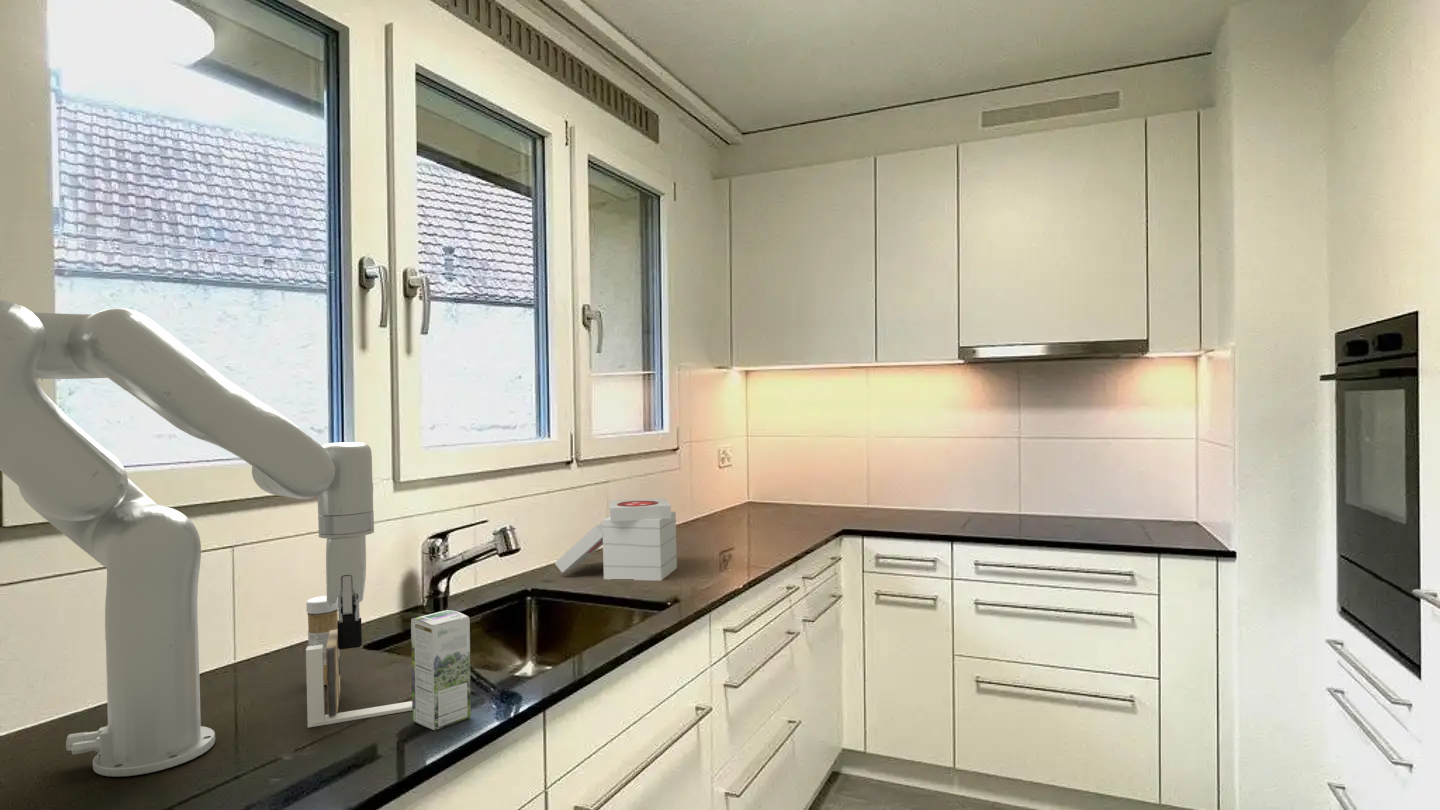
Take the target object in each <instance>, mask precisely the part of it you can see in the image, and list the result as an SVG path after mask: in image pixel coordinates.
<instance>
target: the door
mask: <svg viewBox="0 0 1440 810" xmlns="http://www.w3.org/2000/svg"><path fill="white" fill-rule="evenodd" d="M339 654H340V649H338V629H337V630H330V632H329V637H328V642H327V647H326V662H327V685H326V688H327V689H326V696H327V697H326V698H327V699H326V700H327V715H329V716H334V715H336V713H339V712H338V710H339V701H340V694H341V677H340V676H341V675H342V673H341V672H342V669H341V668H342V667H341V665H342V662H341V658H342V657H341V656H339Z"/></svg>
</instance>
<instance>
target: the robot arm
mask: <svg viewBox="0 0 1440 810" xmlns="http://www.w3.org/2000/svg"><path fill="white" fill-rule="evenodd" d="M41 379H42V380H46V379H48V380H50V379H51V380H52V379H53V380H54V379H55V380H76V379H77V380H78V379H79V380H81V379H82V380H83V379H85V380H86V379H109V380H111V381H112V382H113V383H114V384H116V385H117V386H119V387H120V388H121V389H123V390H124V391H126V392H128V393H129V394H130V395H132V396H133V397H135V398H136V399H137V400H138V401H140V402H141V403H143V404H144V405H145V406H147V407H148V408H149V409H151V410H152V411H153V412H155V413H157V414H158V416H160V417H162V418H163V419H165V421H167V422H168V423H170V424H171V425H173V426H174V427H175V428H176V429H178V430H180V431H181V432H182V431H183V432H184V433H186V434H188V435H189V436H192V437H194V438H196V439H198V440H201V441H203V442H207V443H210V444H213V445H215V446H217V447H219V448H222V449H224V450H225V451H228V452H230V453H231V454H232V455H235V456H236V457H237V458H240V460H243V461H244V462H246V464H247V463H248V464H249V465H250V466H251V475H252V479H253V481H254V482H255V485H257V486H258V487H259V488H260V489H261V490H262V491H264V492H266V493H268V494H271V495H274V496H279V497H285V498H293V499H298V500H308V499H313V498H315V497H317V522H318V538H321V539H326V545H325V547H326V548H325V573H326V574H325V575H326V576H325V579H326V583H325V584H326V596H327V605H328V606H332V604H333V603H336V600H337V598H338V612H337V614H338V622H337V629H338V649H339V651H340V650H347V649H355V648H360V647H362V645H363V635H362V634H363V633H362V631H363V630H362V627H363V626H362V617H360V603H361V602H362V601H363V600H364V596H365V587H366V576H367V574H366V573H367V572H366V571H367V547H366V546H367V545H366V544H367V543H366V542H367V540H366V536H367V535H371V534H373V533H375V519H374V517H375V516H374V515H375V514H374V491H373V490H374V488H373V487H374V486H373V453H372V452H373V451H372V448H371V447H370V446H369V444H367V443H366V442H361V441H349V442H348V441H345V442H343V441H342V442H330V443H325V444H322V445H321V444H320V443H319V442H317V441H316V440H315V439H313V438H312V436H310V435H309V434H307V432H305V431H304V430H303V429H301V428H300V427H299V426H297V425H296V424H295V423H294V422H292V421H291V420H289V419H288V418H287V417H285V416H284V415H282V414H281V413H279V412H278V411H277V410H275V409H274V408H272V407H271V406H268V405H267V404H265V403H264V402H262V401H261V400H259V399H257V398H256V397H254V396H253V395H252V394H250V393H249V392H247V391H246V390H244V389H242V388H241V387H239V386H238V385H236V384H235V383H233V382H232V381H230V380H229V379H228V378H226V377H224V376H223V375H222V374H221V373H220V372H218V370H216V369H214V368H213V367H212V366H211V365H210V364H208V363H207V362H205V361H204V360H203V359H202V358H200V357H199V356H198V355H196V353H194V352H193V351H192V350H191V349H189V348H188V347H186V346H185V345H184V344H183V343H181V341H179V340H178V339H177V338H175V337H174V336H173V335H172V334H171V333H169V332H168V331H166V330H165V329H164V328H163V327H161V326H160V325H159V324H158V323H156V322H155V321H154V320H152V319H151V318H149V317H148V316H146V315H145V314H143V313H141V312H139V311H136V310H134V309H130V308H124V307H113V308H108V309H107V308H106V309H104V310H103V309H102V310H101V311H98V312H95V313H57V312H54V313H53V312H37V311H31V310H29V309H28V308H26V307H25V306H23V305H20V304H18V303H16V302H12V301H8V300H3V299H0V471H1V473H3V474H4V475H5V476H6V477H7V478H9V480H11V481H12V482H14V483H15V484H16V486H18V489H19V492H20V493H19V494H20V495H21V497H22V498H23V500H24V502H25V503H26V504H27V505H28V506H29V507H31V508H32V510H34V511H35V512H36V513H38V515H40V516H41V517H42V518H43V519H45V520H46V522H48V523H49V524H51V525H52V526H53V527H54V528H56V530H58V531H59V532H61V533H62V534H63V535H64V536H65V537H67V538H68V539H69V541H72V542H73V543H74V544H75V545H76V546H78V547H79V548H80V549H82V550H83V551H84V552H85V553H86V554H87V555H88V556H90V557H92V558H93V559H94V560H95V561H96V562H97V563H99V564H100V565H101V566H103V567H105V568H106V588H105V589H106V590H105V602H104V603H105V604H104V606H105V607H104V608H105V609H104V627H105V628H104V631H105V633H104V636H105V638H104V639H105V654H106V655H105V658H106V659H105V660H106V663H105V664H106V694H107V695H106V697H107V701H106V702H107V725H105V726H101V727H100V728H99V729H98V730H95V731H84V732H77V733H76V732H75V733H69V734H68V735H67V737H66V742H65V749H66V751H71V755H74V756H75V755H78V754H86V753H88V752H89V753H90V752H93V751H94V752H95V753H97V754H96V755H95V756H94V757H93V759H92V770H93V772H94V773H96V774H98V775H100V776H105V777H115V778H116V777H117V778H118V777H119V778H120V777H132V776H133V777H134V776H139V775H145V774H146V775H147V774H150V773H155V772H160V771H162V770H167V769H170V768H174V767H176V766H180V765H182V764H184V763H187V762H189V761H192V760H194V759H196V758H197V757H199V756H201V755H204V754H205V753H207V752H208V751H209V750H211V748H212V747H213V746H214V745H215V742H216V732H215V730H214V729H212V728H210V727H207V726H204V725H203V726H202V725H201V723H202V722H201V718H202V717H201V686H200V654H199V653H200V650H199V649H200V648H199V647H200V646H199V623H198V621H199V620H198V619H199V617H198V616H199V615H198V611H199V610H198V591H199V589H198V587H199V577H200V567H201V559H202V558H201V557H202V544H201V538H200V534H199V532H198V529H197V528H196V526H195V524H194V522H192V520H191V519H190V518H189V517H188V516H187V515H186V514H184V513H182V512H181V511H179V510H177V509H175V508H172V507H169V506H165V505H161V504H158V503H156V502H155V501H154V500H153V499H152V498H151V497H150V496H148V495H147V494H146V493H145V492H144V491H142V489H141V488H140V487H138V486H137V484H135V483H134V482H133V481H132V480H131V479H130V478H128V474H127V470H126V468H125V467H124V465H123V463H122V462H121V460H119V458H118V457H116V455H114V454H113V453H112V452H111V451H109V450H108V449H106V448H105V447H104V446H102V445H101V444H100V443H98V442H97V441H96V440H95V439H94V438H93V437H92V436H91V435H89V434H88V433H87V432H86V431H84V429H82V427H80V426H79V425H78V424H76V423H75V421H73V419H71V418H70V417H69V416H68V415H67V414H66V413H65V412H64V411H63V410H62V409H61V408H60V407H59V405H57V404H56V403H55V402H54V401H53V400H52V399H51V398H50V397H49V396H48V395H47V394H46V392H45V391H44V390H43V387H42V386H41V385H40V382H39V380H41Z"/></svg>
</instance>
